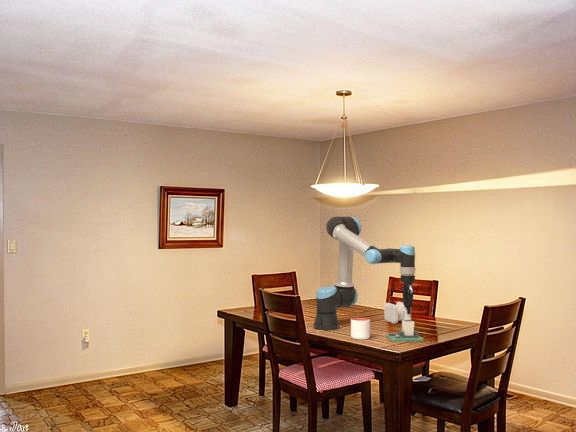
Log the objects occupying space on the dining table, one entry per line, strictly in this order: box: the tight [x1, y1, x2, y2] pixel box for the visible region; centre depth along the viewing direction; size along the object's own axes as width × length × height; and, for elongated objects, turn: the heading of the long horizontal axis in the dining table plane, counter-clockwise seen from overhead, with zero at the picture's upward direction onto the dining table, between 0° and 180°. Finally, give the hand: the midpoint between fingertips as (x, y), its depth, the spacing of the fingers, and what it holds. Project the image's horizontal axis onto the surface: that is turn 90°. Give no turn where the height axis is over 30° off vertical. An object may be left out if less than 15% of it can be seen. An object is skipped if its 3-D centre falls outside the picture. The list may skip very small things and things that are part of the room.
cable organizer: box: [383, 301, 405, 325], centre depth 342 cm, size 15×11×12 cm
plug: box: [401, 319, 416, 336], centre depth 293 cm, size 6×4×8 cm
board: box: [385, 328, 425, 343], centre depth 293 cm, size 16×14×4 cm
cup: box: [350, 317, 371, 341], centre depth 294 cm, size 10×10×10 cm
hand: (407, 319), depth 293 cm, fingers closed
